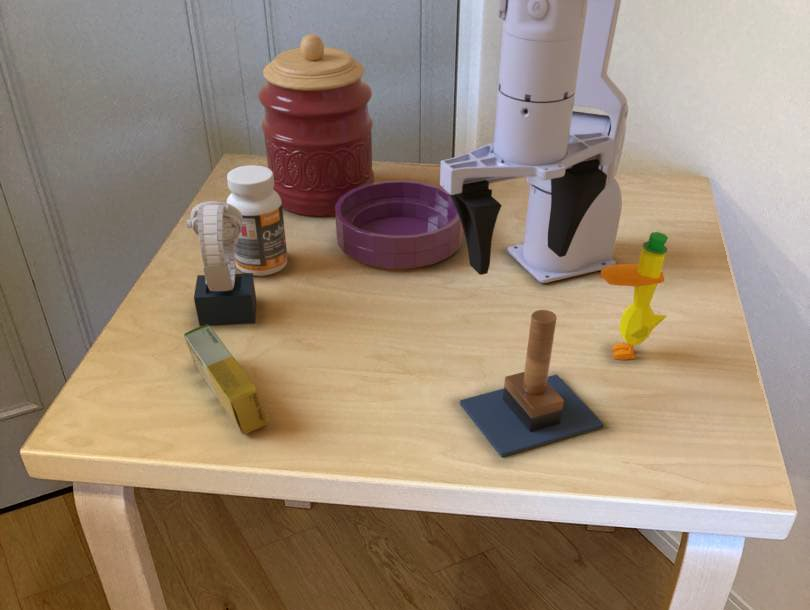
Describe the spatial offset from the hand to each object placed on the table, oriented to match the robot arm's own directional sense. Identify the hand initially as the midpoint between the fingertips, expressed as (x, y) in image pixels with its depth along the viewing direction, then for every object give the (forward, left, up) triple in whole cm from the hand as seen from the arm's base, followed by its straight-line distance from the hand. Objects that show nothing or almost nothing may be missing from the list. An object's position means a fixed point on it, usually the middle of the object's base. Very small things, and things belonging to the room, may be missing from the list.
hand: (518, 260), depth 72 cm
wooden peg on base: (+2, +8, -10) cm, 13 cm away
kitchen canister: (+4, -41, -11) cm, 43 cm away
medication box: (+26, -5, -11) cm, 28 cm away
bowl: (0, -26, -10) cm, 28 cm away
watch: (+22, -19, -11) cm, 31 cm away
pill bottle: (+16, -27, -11) cm, 33 cm away
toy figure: (-11, +3, -11) cm, 15 cm away
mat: (+2, +8, -10) cm, 13 cm away
